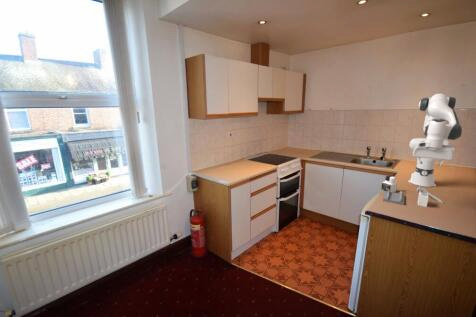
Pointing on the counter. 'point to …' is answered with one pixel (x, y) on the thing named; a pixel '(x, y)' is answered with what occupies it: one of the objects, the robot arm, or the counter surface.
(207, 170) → the counter surface
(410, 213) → the counter surface
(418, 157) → the robot arm
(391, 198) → the rail base
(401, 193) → the din rail
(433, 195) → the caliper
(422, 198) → the din module
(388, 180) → the medicine bottle
